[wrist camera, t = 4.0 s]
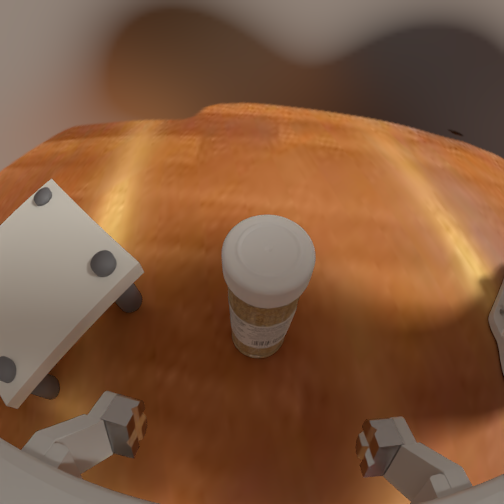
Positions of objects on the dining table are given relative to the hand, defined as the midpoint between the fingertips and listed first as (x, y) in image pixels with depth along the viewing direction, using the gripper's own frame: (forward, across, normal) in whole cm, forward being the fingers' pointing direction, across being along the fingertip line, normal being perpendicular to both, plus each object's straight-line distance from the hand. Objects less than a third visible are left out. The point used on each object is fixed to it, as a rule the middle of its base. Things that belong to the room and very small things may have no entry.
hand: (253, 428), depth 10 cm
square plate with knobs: (+15, +20, +4) cm, 26 cm away
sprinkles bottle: (+16, 0, +4) cm, 16 cm away
